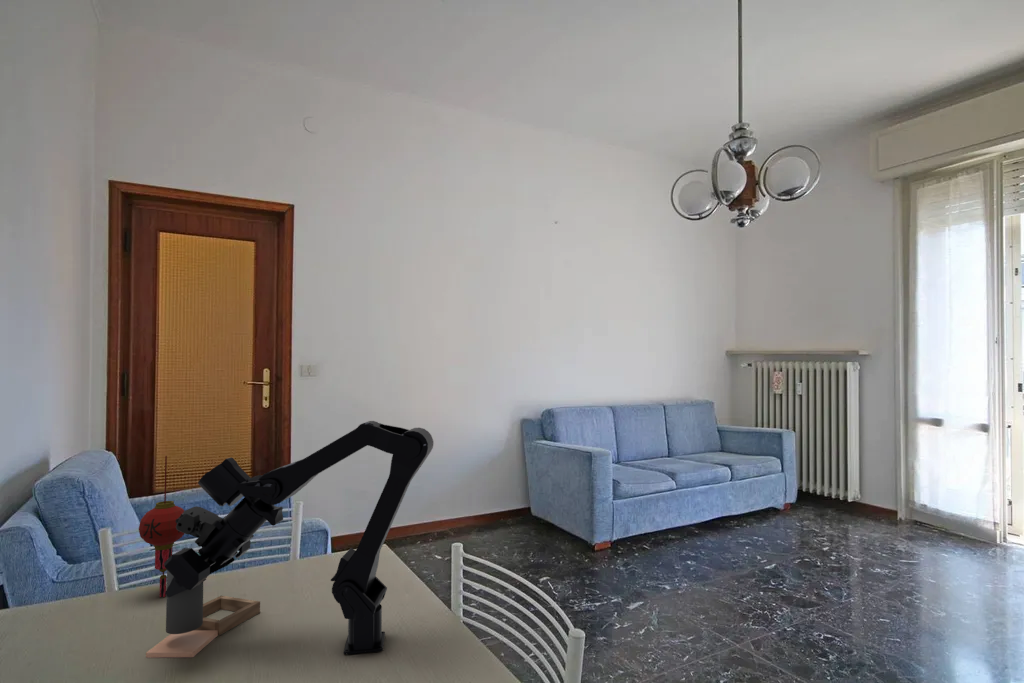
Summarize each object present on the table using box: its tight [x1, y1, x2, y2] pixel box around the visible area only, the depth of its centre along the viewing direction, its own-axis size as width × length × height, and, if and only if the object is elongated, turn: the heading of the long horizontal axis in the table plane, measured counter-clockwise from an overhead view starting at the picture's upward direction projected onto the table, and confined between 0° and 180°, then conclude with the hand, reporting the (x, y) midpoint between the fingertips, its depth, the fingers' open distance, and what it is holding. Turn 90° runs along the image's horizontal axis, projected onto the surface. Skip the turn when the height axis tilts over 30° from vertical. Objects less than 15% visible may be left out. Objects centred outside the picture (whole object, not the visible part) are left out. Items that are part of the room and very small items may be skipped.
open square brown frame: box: [195, 595, 261, 636], centre depth 108 cm, size 10×10×2 cm
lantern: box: [138, 455, 186, 598], centre depth 120 cm, size 10×10×30 cm
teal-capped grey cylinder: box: [165, 551, 204, 635], centre depth 98 cm, size 6×6×12 cm
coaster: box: [145, 630, 219, 659], centre depth 98 cm, size 8×8×1 cm
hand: (177, 588), depth 98 cm, fingers closed on teal-capped grey cylinder, 6 cm apart
